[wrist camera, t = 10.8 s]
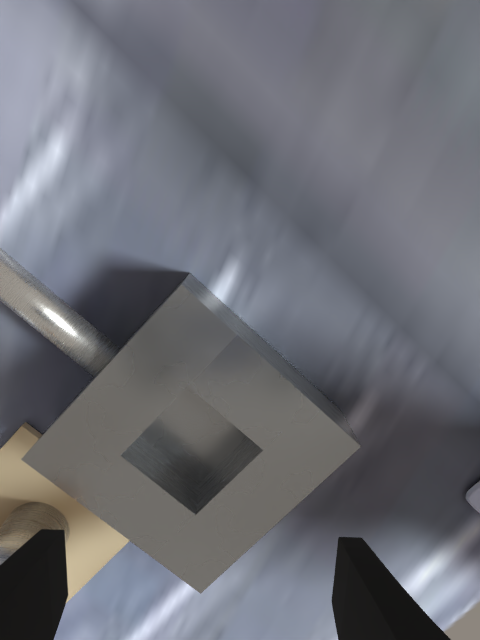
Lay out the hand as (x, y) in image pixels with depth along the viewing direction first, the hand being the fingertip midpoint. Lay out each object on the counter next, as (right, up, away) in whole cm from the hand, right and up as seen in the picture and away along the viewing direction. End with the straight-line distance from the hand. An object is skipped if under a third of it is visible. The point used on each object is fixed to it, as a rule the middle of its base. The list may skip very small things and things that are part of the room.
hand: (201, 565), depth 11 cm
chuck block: (-4, +5, +9) cm, 11 cm away
